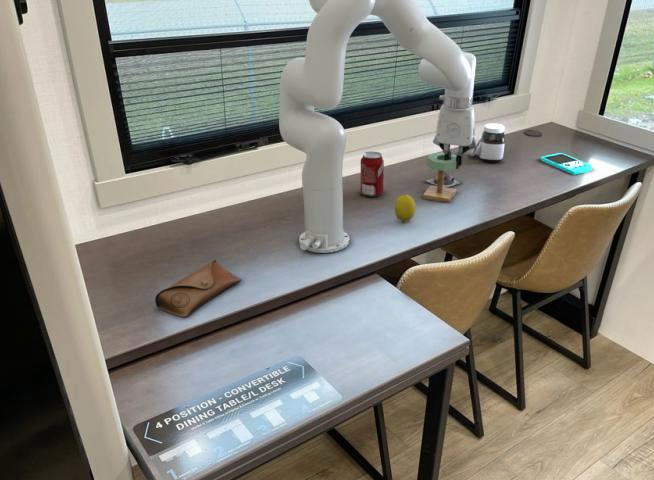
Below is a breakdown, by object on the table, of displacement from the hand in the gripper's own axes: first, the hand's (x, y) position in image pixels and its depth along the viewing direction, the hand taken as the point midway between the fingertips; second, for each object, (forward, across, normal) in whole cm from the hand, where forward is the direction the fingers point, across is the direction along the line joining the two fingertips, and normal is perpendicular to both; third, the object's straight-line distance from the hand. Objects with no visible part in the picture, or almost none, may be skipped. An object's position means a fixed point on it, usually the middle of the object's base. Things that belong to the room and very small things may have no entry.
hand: (452, 166), depth 173 cm
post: (+9, -3, 0) cm, 10 cm away
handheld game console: (+10, +30, +42) cm, 53 cm away
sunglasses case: (+9, -37, -73) cm, 82 cm away
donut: (+8, -5, +10) cm, 14 cm away
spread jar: (+10, +3, +37) cm, 39 cm away
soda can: (+10, -22, -7) cm, 25 cm away
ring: (0, -3, 0) cm, 3 cm away
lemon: (+10, -7, -22) cm, 25 cm away
